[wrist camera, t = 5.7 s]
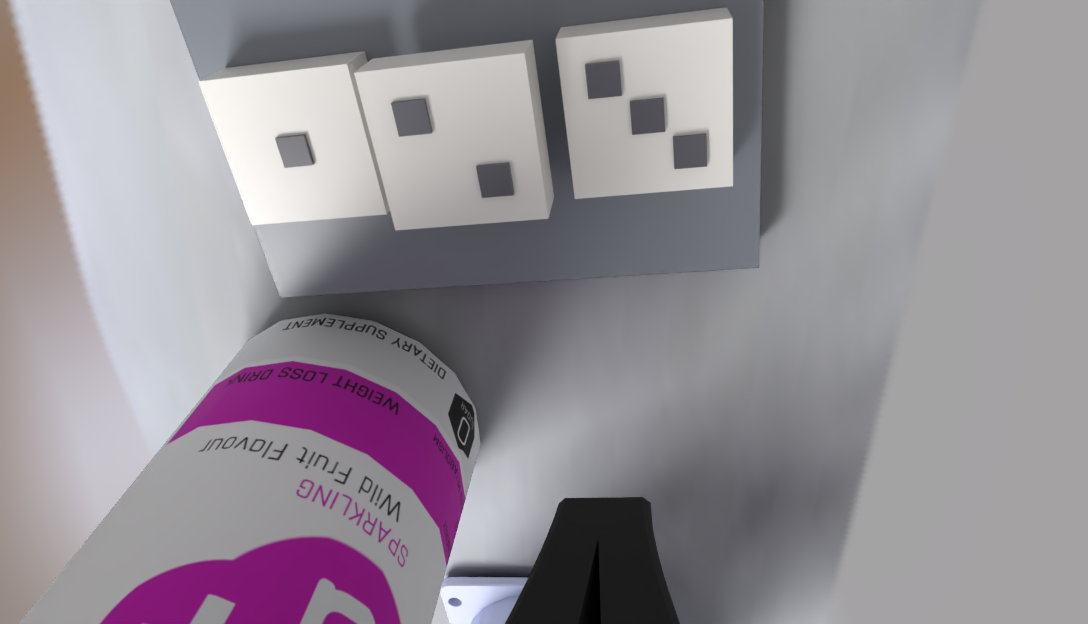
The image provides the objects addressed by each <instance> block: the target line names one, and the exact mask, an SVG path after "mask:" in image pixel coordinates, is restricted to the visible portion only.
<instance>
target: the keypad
mask: <svg viewBox="0 0 1088 624" xmlns="http://www.w3.org/2000/svg"><path fill="white" fill-rule="evenodd" d="M170 2H171V5H172V7H173V10H174V13H175V15H176V18H177V21H178V23H179V26H180V29H181V31H182V34H183V37H184V40H185V42H186V45H187V48H188V50H189V53H190V56H191V58H192V61H193V64H194V67H195V69H196V72H197V75H198V77H199V80H202V79H204V78H206V77H208V76H210V75H212V74H214V73H216V72H218V71H220V70H221V69H223V68H229V67H237V66H245V65H254V64H262V63H270V62H278V61H287V60H295V59H303V58H312V57H320V56H328V55H336V54H345V53H353V52H361V51H365V54H366V58H367V61H368V62H369V61H370V60H371V59H374V58H382V57H391V56H399V55H407V54H416V53H424V52H433V51H441V50H450V49H458V48H466V47H475V46H483V45H492V44H500V43H508V42H517V41H525V40H533V46H534V54H535V61H536V68H537V75H538V83H539V90H540V97H541V105H542V112H543V119H544V127H545V134H546V141H547V148H548V156H549V163H550V170H551V178H552V185H553V192H554V199H553V203H552V207H551V211H550V215H549V218H548V219H538V220H525V221H512V222H499V223H486V224H473V225H460V226H447V227H434V228H421V229H408V230H395V227H394V223H393V220H392V216H391V212H390V211H389V212H388V214H386V215H374V216H361V217H349V218H336V219H324V220H312V221H299V222H287V223H274V224H262V225H253V226H254V228H255V231H256V234H257V236H258V239H259V242H260V244H261V247H262V250H263V253H264V255H265V258H266V261H267V263H268V266H269V269H270V271H271V274H272V277H273V280H274V282H275V285H276V288H277V290H278V293H279V296H280V297H296V296H312V295H328V294H344V293H360V292H376V291H392V290H408V289H424V288H441V287H457V286H473V285H489V284H505V283H521V282H537V281H553V280H569V279H585V278H601V277H617V276H633V275H649V274H665V273H681V272H697V271H713V270H729V269H746V268H759V244H760V188H761V132H762V75H763V19H764V0H170ZM725 7H727V9H728V10H729V12H730V14H731V16H732V18H733V186H730V187H718V188H706V189H693V190H681V191H668V192H656V193H644V194H631V195H619V196H606V197H594V198H582V199H575V196H574V188H573V180H572V172H571V164H570V155H569V147H568V139H567V131H566V123H565V114H564V106H563V98H562V90H561V81H560V73H559V65H558V57H557V49H556V40H555V39H556V37H557V35H558V33H559V30H560V28H561V27H567V26H576V25H584V24H592V23H601V22H609V21H617V20H625V19H634V18H642V17H650V16H658V15H667V14H675V13H683V12H692V11H700V10H708V9H716V8H725Z"/></svg>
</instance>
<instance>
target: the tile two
mask: <svg viewBox="0 0 1088 624" xmlns="http://www.w3.org/2000/svg"><path fill="white" fill-rule="evenodd" d="M354 75H355V79H356V83H357V86H358V90H359V94H360V98H361V102H362V105H363V109H364V113H365V117H366V121H367V124H368V128H369V132H370V136H371V140H372V143H373V147H374V151H375V155H376V159H377V162H378V166H379V170H380V174H381V178H382V181H383V185H384V189H385V193H386V197H387V201H388V204H389V208H390V212H391V216H392V220H393V223H394V227H395V230H408V229H421V228H434V227H447V226H460V225H473V224H486V223H499V222H512V221H525V220H538V219H548V218H549V215H550V211H551V207H552V203H553V199H554V192H553V185H552V178H551V170H550V163H549V156H548V148H547V141H546V134H545V127H544V119H543V112H542V105H541V97H540V90H539V83H538V75H537V68H536V61H535V54H534V46H533V40H525V41H517V42H508V43H500V44H492V45H483V46H475V47H466V48H458V49H450V50H441V51H433V52H424V53H416V54H407V55H399V56H391V57H382V58H374V59H371V60H370V61H369V62H367V63H366V64H365V65H364V66H362V67H361V68H360V69H358V70H357V71H356V72H354Z"/></svg>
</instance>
